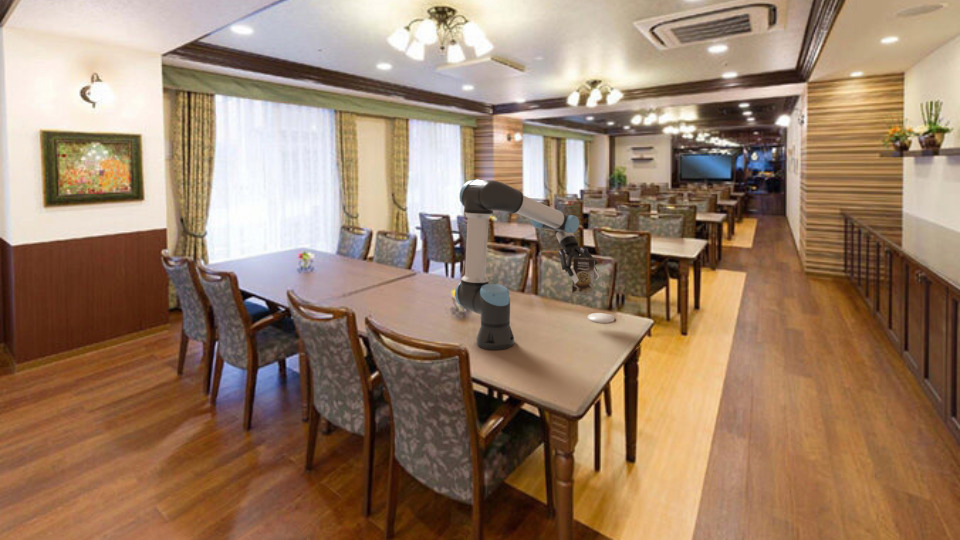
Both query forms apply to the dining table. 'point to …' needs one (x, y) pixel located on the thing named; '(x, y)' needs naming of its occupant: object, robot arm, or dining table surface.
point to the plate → (601, 318)
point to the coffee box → (583, 275)
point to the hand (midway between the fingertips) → (587, 280)
